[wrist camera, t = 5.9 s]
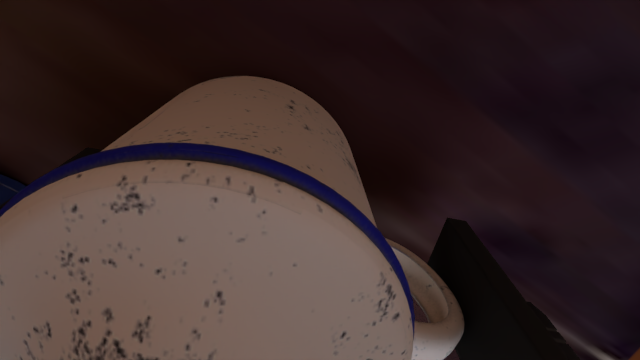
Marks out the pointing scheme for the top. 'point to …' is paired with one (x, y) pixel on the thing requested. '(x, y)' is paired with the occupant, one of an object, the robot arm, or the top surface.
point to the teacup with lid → (215, 245)
